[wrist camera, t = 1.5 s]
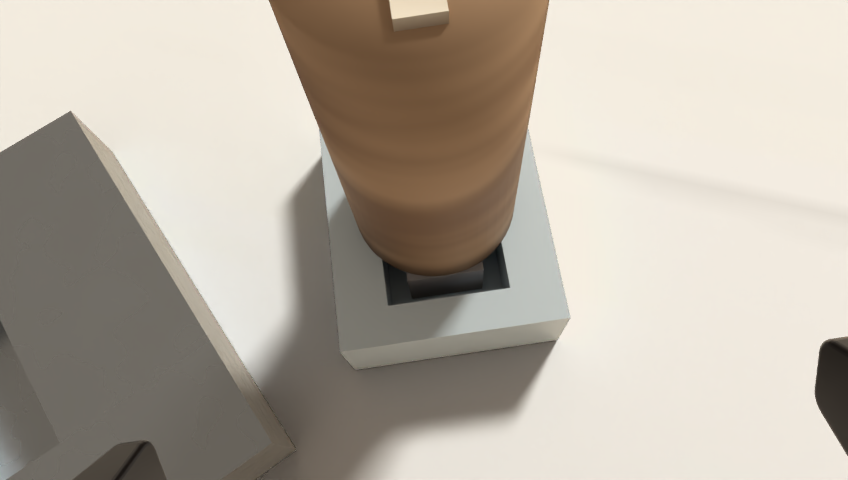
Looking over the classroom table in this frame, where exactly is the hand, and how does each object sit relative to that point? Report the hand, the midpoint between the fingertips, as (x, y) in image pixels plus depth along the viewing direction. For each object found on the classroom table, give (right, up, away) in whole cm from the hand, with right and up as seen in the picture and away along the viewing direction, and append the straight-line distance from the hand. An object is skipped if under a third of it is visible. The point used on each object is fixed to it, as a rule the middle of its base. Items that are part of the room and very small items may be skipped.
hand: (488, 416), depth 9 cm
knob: (0, +3, +15) cm, 15 cm away
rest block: (0, +3, +16) cm, 16 cm away
